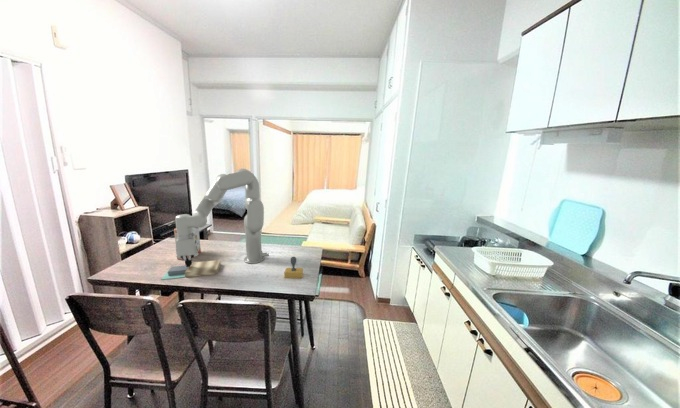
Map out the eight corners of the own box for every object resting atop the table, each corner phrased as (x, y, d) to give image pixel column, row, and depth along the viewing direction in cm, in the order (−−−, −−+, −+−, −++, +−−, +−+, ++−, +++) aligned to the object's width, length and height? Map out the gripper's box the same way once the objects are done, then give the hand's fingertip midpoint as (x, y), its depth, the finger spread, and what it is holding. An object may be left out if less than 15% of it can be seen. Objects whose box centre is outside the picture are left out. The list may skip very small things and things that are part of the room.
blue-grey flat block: (189, 268, 142) (189, 265, 141) (186, 273, 136) (186, 269, 135) (172, 270, 139) (171, 266, 138) (168, 275, 133) (167, 271, 133)
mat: (190, 267, 144) (190, 266, 144) (184, 277, 133) (184, 276, 133) (169, 269, 141) (169, 268, 141) (161, 279, 130) (161, 279, 130)
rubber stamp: (284, 278, 135) (283, 258, 133) (286, 273, 141) (285, 254, 138) (301, 278, 136) (301, 259, 133) (302, 273, 141) (302, 254, 139)
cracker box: (184, 260, 152) (180, 229, 148) (176, 259, 154) (172, 228, 149) (201, 252, 166) (198, 223, 161) (194, 250, 167) (191, 222, 162)
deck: (220, 264, 149) (220, 260, 148) (216, 273, 138) (216, 269, 137) (191, 267, 144) (191, 262, 143) (185, 277, 133) (184, 272, 132)
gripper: (201, 233, 139) (204, 261, 143) (172, 234, 135) (176, 264, 139) (198, 237, 132) (201, 267, 136) (167, 239, 128) (171, 270, 132)
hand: (188, 265), depth 138 cm, fingers closed
